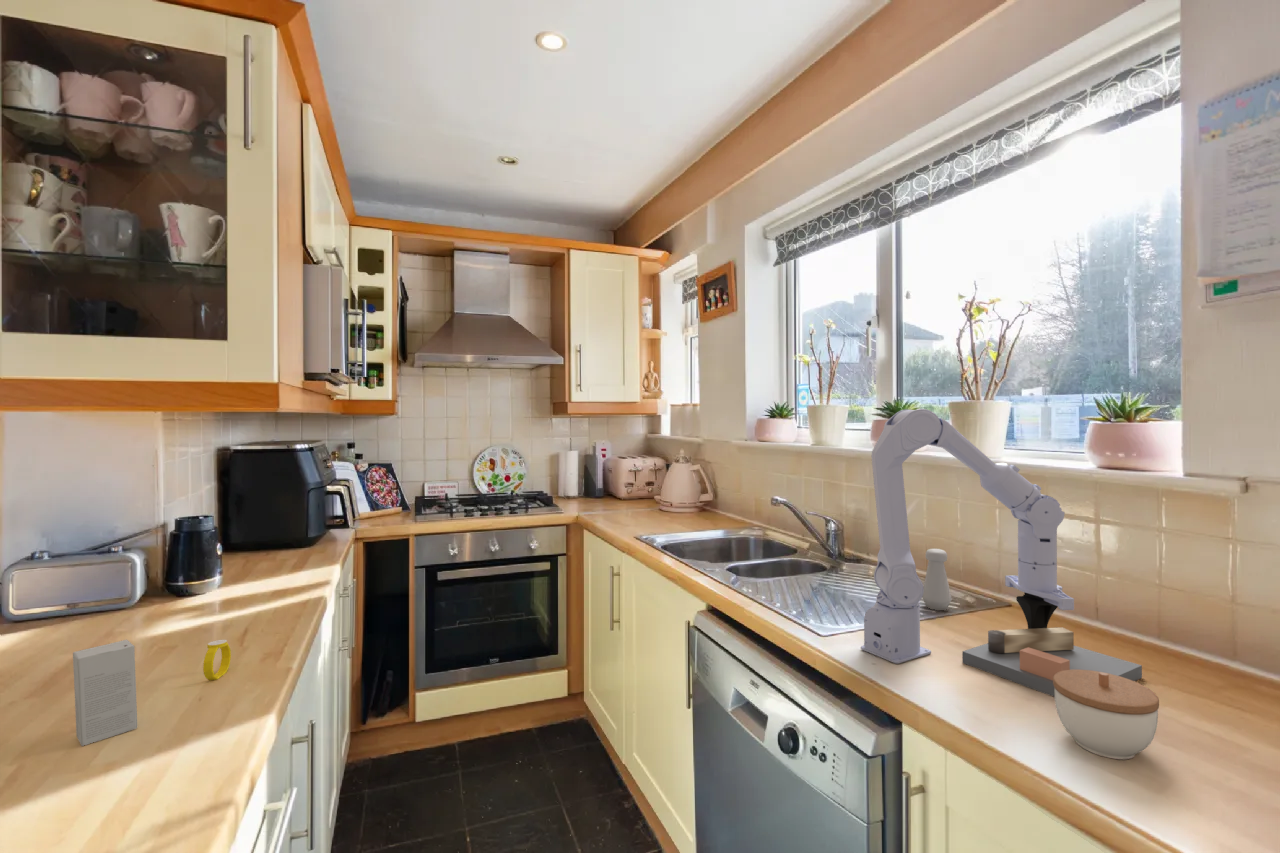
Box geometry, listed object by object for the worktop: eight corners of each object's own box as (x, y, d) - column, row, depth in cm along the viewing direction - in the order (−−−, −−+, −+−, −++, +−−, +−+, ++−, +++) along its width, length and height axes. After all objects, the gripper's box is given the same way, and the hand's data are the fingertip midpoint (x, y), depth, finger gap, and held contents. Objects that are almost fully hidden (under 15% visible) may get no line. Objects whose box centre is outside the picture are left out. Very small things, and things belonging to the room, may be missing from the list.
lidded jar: (1111, 776, 70) (1110, 697, 70) (1033, 730, 81) (1032, 661, 81) (1182, 763, 72) (1182, 687, 72) (1098, 720, 83) (1097, 653, 83)
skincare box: (131, 719, 87) (129, 638, 87) (137, 729, 84) (135, 645, 84) (74, 737, 82) (71, 651, 82) (79, 747, 80) (77, 658, 80)
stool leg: (994, 653, 101) (994, 635, 101) (984, 647, 104) (984, 630, 104) (1074, 649, 102) (1074, 632, 102) (1062, 644, 105) (1062, 627, 105)
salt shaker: (948, 614, 128) (948, 553, 128) (919, 609, 132) (919, 550, 131) (953, 606, 133) (953, 548, 133) (925, 602, 136) (925, 545, 136)
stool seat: (1079, 706, 87) (1079, 672, 87) (962, 662, 103) (962, 634, 103) (1141, 677, 96) (1141, 646, 96) (1025, 641, 112) (1025, 615, 112)
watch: (218, 671, 104) (218, 637, 105) (235, 670, 105) (235, 636, 105) (198, 684, 98) (198, 647, 99) (216, 683, 99) (217, 646, 99)
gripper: (1092, 571, 98) (1092, 653, 98) (1030, 551, 112) (1031, 623, 112) (1050, 572, 97) (1050, 654, 98) (994, 552, 112) (994, 624, 112)
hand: (1037, 638), depth 105 cm, fingers closed, pressing on stool leg
